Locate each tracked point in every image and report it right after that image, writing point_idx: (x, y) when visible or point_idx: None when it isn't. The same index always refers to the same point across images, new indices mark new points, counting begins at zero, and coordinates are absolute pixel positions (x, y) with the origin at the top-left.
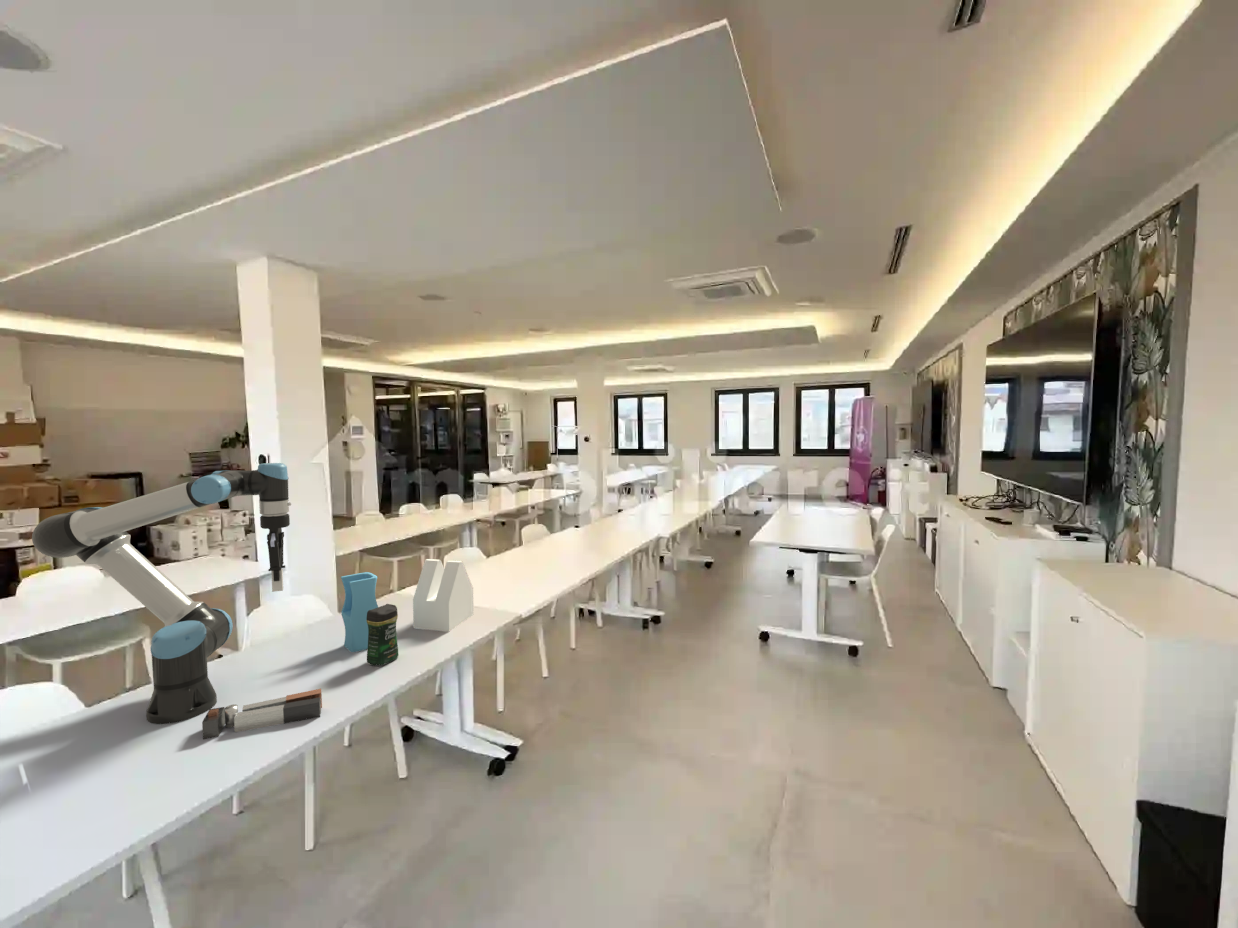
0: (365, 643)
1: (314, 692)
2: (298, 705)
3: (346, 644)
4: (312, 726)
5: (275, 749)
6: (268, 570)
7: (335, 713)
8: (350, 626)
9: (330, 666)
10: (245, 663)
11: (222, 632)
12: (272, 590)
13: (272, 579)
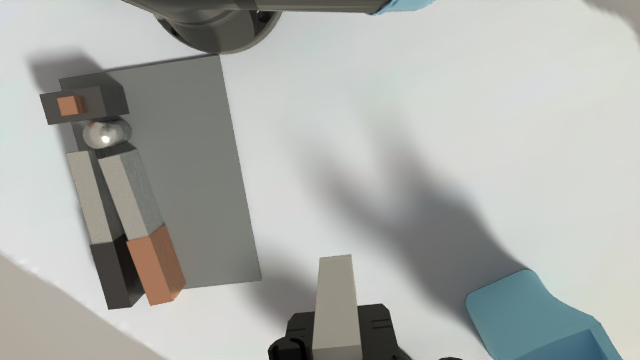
0: (482, 334)
1: (154, 291)
2: (99, 272)
3: (509, 283)
4: (100, 283)
5: (27, 239)
6: (270, 345)
7: (144, 313)
8: (504, 336)
9: (387, 261)
10: (486, 31)
11: (315, 6)
12: (320, 262)
13: (318, 304)
